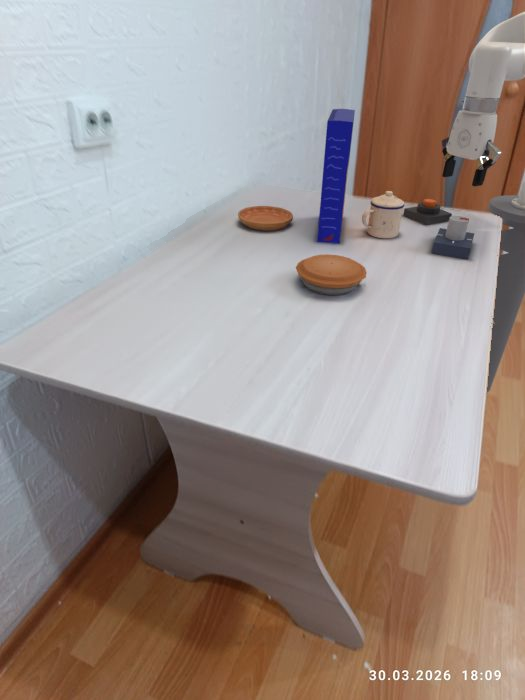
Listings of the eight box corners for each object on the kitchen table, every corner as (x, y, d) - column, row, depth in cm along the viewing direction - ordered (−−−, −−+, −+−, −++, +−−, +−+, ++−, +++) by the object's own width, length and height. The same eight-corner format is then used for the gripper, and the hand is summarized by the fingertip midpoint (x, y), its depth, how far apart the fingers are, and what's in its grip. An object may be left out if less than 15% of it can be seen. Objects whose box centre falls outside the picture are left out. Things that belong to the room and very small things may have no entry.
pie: (288, 294, 103) (289, 273, 100) (302, 266, 115) (303, 246, 113) (360, 304, 100) (364, 282, 97) (367, 274, 112) (370, 254, 109)
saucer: (295, 217, 146) (295, 207, 145) (289, 235, 133) (289, 224, 131) (243, 213, 148) (243, 203, 146) (233, 230, 135) (232, 220, 133)
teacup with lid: (386, 226, 141) (392, 185, 134) (405, 236, 134) (413, 194, 127) (351, 231, 137) (356, 189, 130) (369, 242, 130) (375, 199, 123)
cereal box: (339, 243, 128) (353, 120, 112) (317, 241, 129) (327, 119, 113) (342, 218, 146) (355, 109, 130) (323, 216, 147) (332, 108, 131)
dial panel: (437, 238, 133) (439, 227, 131) (471, 243, 130) (474, 232, 128) (431, 253, 124) (434, 241, 122) (467, 259, 121) (471, 247, 119)
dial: (444, 238, 124) (449, 218, 121) (446, 233, 128) (450, 213, 125) (463, 241, 123) (469, 221, 120) (464, 235, 126) (470, 216, 124)
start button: (429, 203, 148) (430, 198, 147) (437, 207, 145) (438, 201, 144) (420, 205, 147) (421, 199, 146) (428, 208, 144) (430, 202, 143)
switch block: (426, 211, 154) (429, 198, 151) (450, 220, 146) (453, 207, 144) (403, 215, 150) (405, 202, 147) (425, 225, 142) (428, 211, 140)
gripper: (440, 102, 117) (426, 174, 126) (500, 111, 104) (478, 191, 114) (462, 101, 120) (446, 172, 129) (522, 109, 107) (500, 187, 117)
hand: (461, 180), depth 122 cm, fingers open, 9 cm apart
